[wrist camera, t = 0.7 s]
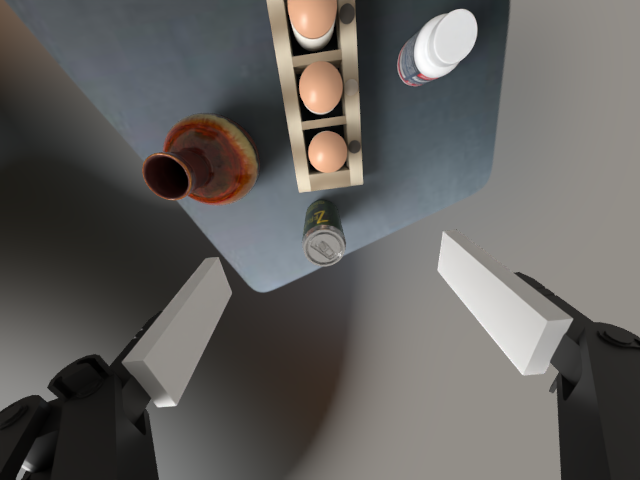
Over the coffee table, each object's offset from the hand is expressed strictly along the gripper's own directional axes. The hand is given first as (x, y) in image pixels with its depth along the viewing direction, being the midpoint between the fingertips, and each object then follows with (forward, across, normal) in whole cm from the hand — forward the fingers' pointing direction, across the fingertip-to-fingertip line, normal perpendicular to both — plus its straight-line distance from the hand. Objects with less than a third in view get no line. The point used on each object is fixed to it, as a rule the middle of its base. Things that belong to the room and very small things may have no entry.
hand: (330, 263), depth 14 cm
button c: (+22, +1, +4) cm, 22 cm away
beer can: (+24, -1, -6) cm, 25 cm away
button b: (+22, +1, +11) cm, 24 cm away
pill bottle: (+25, +14, +13) cm, 31 cm away
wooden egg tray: (+24, +1, +10) cm, 27 cm away
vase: (+25, -13, +4) cm, 28 cm away
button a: (+22, +1, +17) cm, 28 cm away
